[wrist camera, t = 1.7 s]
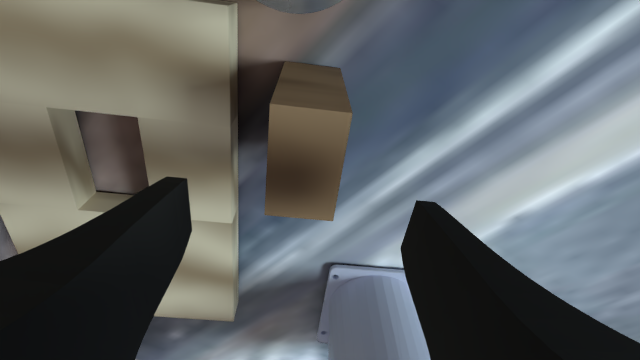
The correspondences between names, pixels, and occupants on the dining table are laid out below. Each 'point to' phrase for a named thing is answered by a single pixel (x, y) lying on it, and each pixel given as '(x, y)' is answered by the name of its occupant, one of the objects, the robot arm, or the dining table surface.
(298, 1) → the metal round peg
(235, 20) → the slot board
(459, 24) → the dining table surface
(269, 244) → the dining table surface
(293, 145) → the walnut flat peg
